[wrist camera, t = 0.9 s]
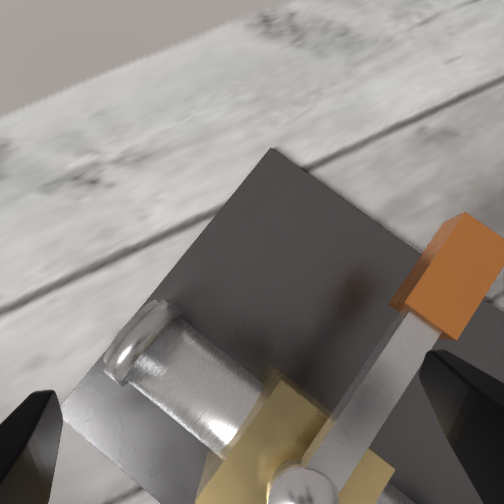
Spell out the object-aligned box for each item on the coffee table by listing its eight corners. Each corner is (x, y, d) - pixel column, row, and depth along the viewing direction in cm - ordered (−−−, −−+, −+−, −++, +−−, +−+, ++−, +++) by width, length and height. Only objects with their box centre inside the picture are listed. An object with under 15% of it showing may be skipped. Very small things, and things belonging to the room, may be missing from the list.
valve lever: (305, 543, 15) (313, 572, 14) (252, 499, 16) (253, 522, 14) (490, 255, 18) (517, 248, 16) (441, 221, 18) (463, 210, 16)
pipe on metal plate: (563, 359, 24) (697, 375, 17) (379, 685, 21) (451, 877, 13) (270, 150, 26) (280, 86, 19) (58, 411, 23) (-25, 452, 16)
